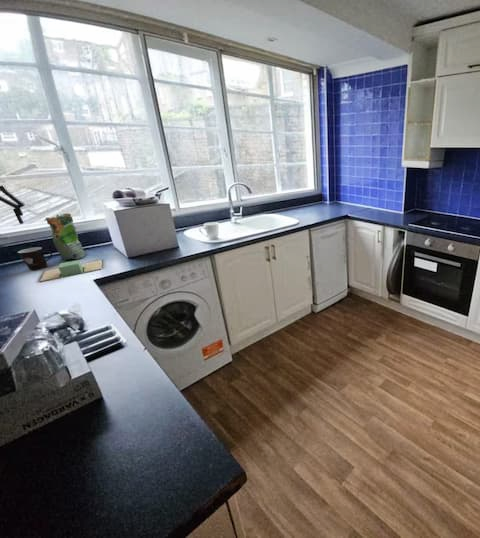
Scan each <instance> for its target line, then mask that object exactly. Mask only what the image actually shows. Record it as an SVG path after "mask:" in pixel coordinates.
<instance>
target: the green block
mask: <svg viewBox="0 0 480 538" xmlns="http://www.w3.org/2000/svg"><path fill="white" fill-rule="evenodd" d="M81 264H82V263H81V261H80V259H77V260H76V259H75V260H72V261H67V262H62V263H59V265H58V268H59V270H60V272H61V274H62V275H61V278H63V279H64V278H70V277H73V276H79V275H83V273H84V269H83V268H82V266H81Z"/></svg>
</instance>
